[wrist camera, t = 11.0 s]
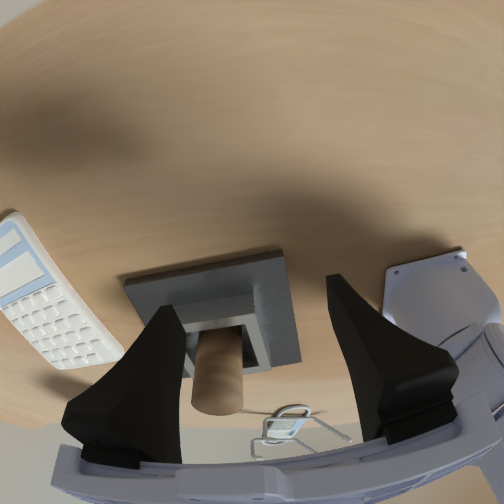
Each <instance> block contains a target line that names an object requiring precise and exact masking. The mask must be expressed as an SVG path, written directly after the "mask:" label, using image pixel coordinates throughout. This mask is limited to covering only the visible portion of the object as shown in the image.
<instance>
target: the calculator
mask: <svg viewBox="0 0 504 504" xmlns="http://www.w3.org/2000/svg"><path fill="white" fill-rule="evenodd" d="M0 310H1V311H2V312H3V313H4V314H5V316H6V317H7V318H8V319H9V320H10V322H11V323H12V324H13V325H14V326H15V327H16V328H17V330H18V331H19V332H20V333H21V334H22V335H23V336H24V337H25V338H26V339H27V340H28V342H29V343H30V344H31V345H32V346H33V347H34V348H35V349H36V350H37V351H38V352H39V353H40V354H41V355H42V356H43V357H44V358H45V359H46V360H47V361H48V362H49V363H50V364H51V365H53V366H54V367H55V368H57V369H60V370H65V369H72V368H79V367H85V366H91V365H97V364H103V363H109V362H114V361H118V360H120V359H121V358H122V357H123V356H124V352H125V351H124V348H123V347H122V346H121V344H120V343H119V342H118V341H117V340H116V339H115V338H114V337H113V336H112V334H111V333H110V332H109V331H108V330H107V329H106V328H105V326H104V325H103V324H102V323H101V322H100V321H99V319H98V318H97V317H96V316H95V315H94V314H93V312H92V311H91V310H90V309H89V308H88V306H87V305H86V304H85V303H84V301H83V300H82V299H81V298H80V296H79V295H78V294H77V293H76V291H75V290H74V289H73V287H72V286H71V285H70V283H69V282H68V281H67V279H66V278H65V277H64V275H63V274H62V273H61V271H60V270H59V268H58V267H57V266H56V264H55V263H54V261H53V260H52V259H51V257H50V256H49V254H48V253H47V251H46V250H45V248H44V247H43V245H42V244H41V242H40V241H39V239H38V238H37V236H36V235H35V233H34V232H33V230H32V228H31V227H30V225H29V224H28V222H27V221H26V219H25V218H24V217H23V215H22V214H21V213H19V212H16V211H15V212H12V213H11V214H9V215H8V216H6V217H5V218H4V219H3V220H2V221H0Z"/></svg>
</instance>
